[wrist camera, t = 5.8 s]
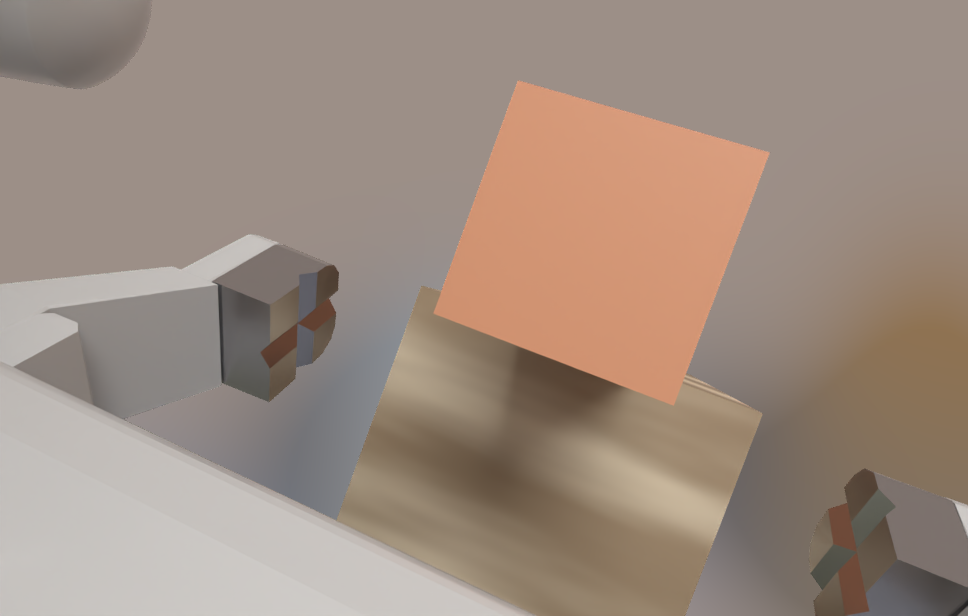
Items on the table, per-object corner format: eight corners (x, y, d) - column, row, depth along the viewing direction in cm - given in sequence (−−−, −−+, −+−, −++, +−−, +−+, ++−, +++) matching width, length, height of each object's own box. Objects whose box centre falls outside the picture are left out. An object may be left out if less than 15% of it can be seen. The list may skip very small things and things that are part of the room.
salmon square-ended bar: (673, 405, 8) (769, 153, 8) (433, 312, 9) (518, 80, 9) (628, 351, 33) (650, 291, 33) (567, 329, 34) (589, 269, 34)
